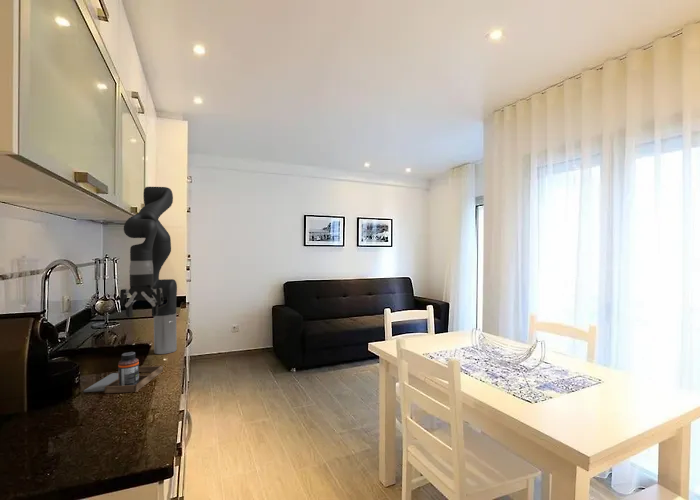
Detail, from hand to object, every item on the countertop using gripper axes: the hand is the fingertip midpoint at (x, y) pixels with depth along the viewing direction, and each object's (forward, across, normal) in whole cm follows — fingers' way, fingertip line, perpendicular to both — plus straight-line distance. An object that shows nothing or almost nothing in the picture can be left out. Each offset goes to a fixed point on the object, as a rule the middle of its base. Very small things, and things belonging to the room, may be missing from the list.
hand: (142, 316), depth 129 cm
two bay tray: (+22, 0, +5) cm, 23 cm away
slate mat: (+22, +9, +5) cm, 24 cm away
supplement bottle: (+22, 0, +10) cm, 24 cm away
